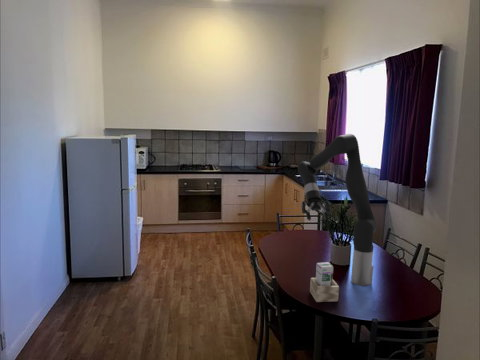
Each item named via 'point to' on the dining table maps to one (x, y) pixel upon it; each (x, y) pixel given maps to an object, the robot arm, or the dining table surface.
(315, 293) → the holder
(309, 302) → the dining table surface
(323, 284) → the syrup box
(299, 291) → the dining table surface
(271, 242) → the dining table surface
